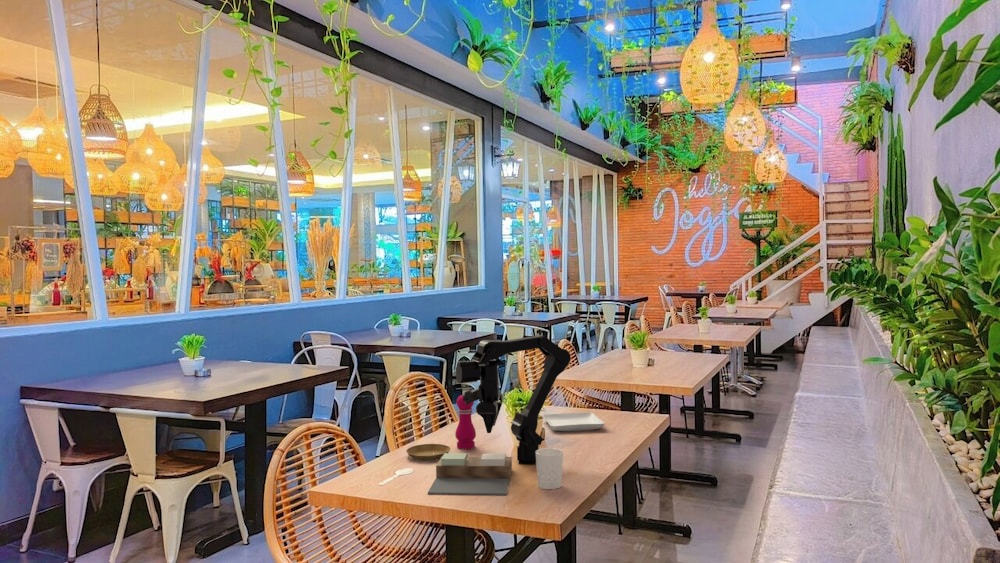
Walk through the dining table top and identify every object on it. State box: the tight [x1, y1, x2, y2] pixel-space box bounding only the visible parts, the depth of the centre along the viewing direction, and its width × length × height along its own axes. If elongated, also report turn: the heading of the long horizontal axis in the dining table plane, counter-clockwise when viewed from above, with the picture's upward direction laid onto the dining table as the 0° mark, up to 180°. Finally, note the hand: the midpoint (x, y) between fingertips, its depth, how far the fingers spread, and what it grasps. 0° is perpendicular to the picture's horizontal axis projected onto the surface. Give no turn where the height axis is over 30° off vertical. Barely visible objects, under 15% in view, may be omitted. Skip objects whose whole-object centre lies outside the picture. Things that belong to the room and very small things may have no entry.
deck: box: [435, 456, 513, 481], centre depth 209 cm, size 22×10×4 cm, turn 85°
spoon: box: [378, 467, 415, 486], centre depth 208 cm, size 5×18×1 cm, turn 156°
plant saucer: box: [406, 443, 451, 462], centre depth 230 cm, size 15×15×3 cm
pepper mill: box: [454, 389, 477, 450], centre depth 240 cm, size 7×7×20 cm
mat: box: [427, 477, 510, 496], centre depth 197 cm, size 22×13×1 cm, turn 85°
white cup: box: [535, 447, 564, 490], centre depth 197 cm, size 8×8×10 cm
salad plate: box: [541, 412, 606, 432], centre depth 269 cm, size 21×21×3 cm
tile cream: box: [481, 453, 507, 466], centre depth 207 cm, size 7×6×2 cm
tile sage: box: [441, 452, 468, 466], centre depth 208 cm, size 7×6×2 cm
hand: (491, 429), depth 216 cm, fingers open, 9 cm apart
